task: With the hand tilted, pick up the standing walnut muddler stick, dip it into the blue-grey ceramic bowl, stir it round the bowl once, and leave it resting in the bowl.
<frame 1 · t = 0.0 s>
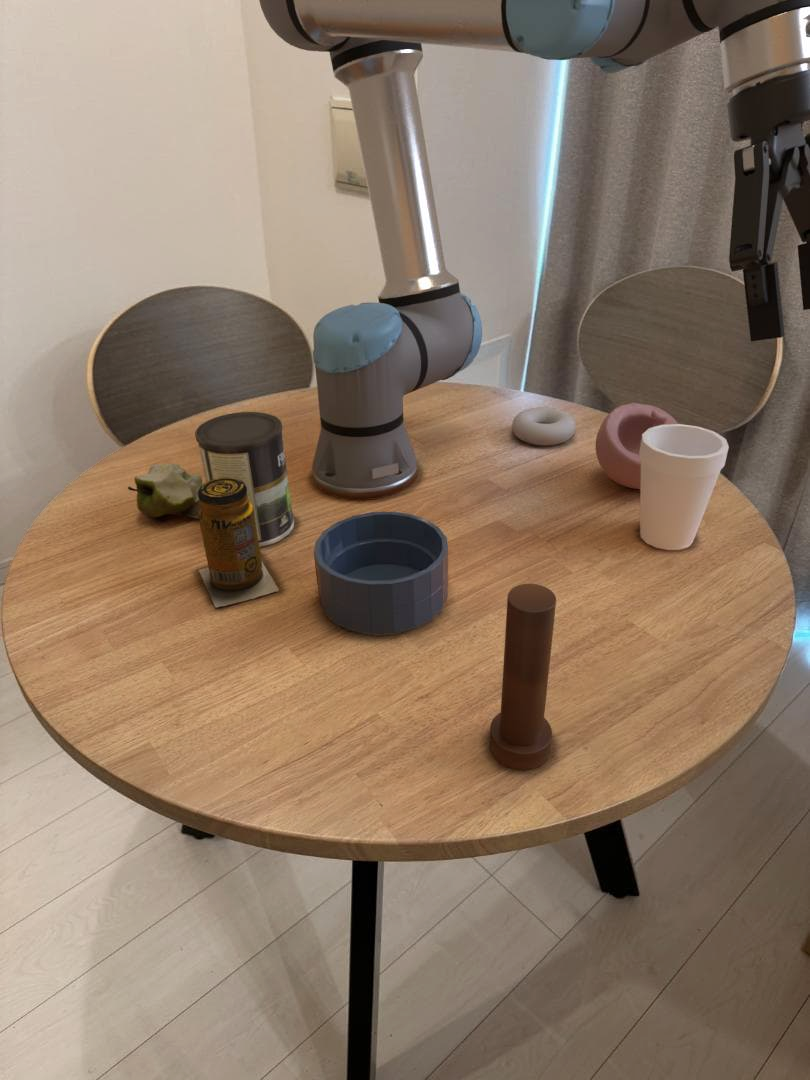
hand: (794, 322, 72), 28 cm above the table, tool tilted 20°, fingers open, 13 cm apart
donut: (542, 436, 118), on the table
pink hollowed ball: (634, 484, 103), on the table
foam cup: (665, 537, 92), on the table
condiment: (238, 582, 86), on the table
muddler: (519, 746, 64), on the table
coffee can: (254, 529, 96), on the table
bowl: (383, 597, 82), on the table
fruit: (172, 512, 100), on the table
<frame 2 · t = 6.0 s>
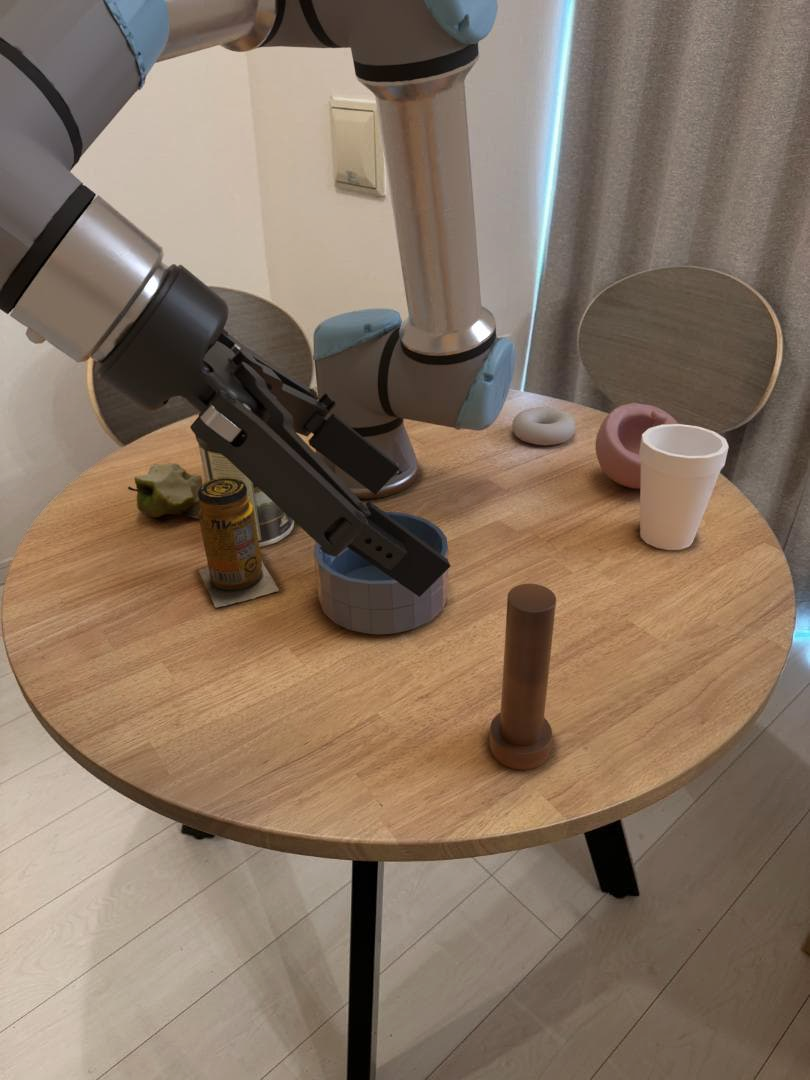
hand: (407, 523, 50), 24 cm above the table, tool tilted 45°, fingers open, 13 cm apart
nothing on the table moved.
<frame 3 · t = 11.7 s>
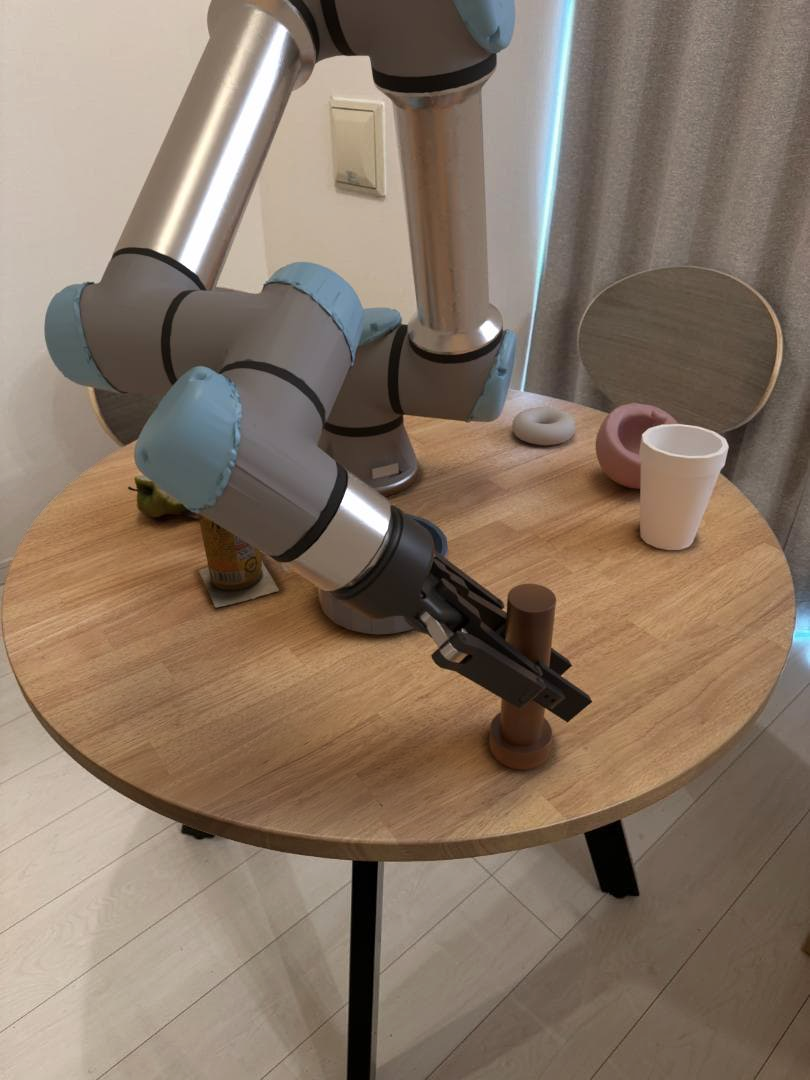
hand: (567, 690, 61), 6 cm above the table, tool tilted 45°, fingers closed on muddler, 4 cm apart
muddler: (519, 746, 64), on the table, touching gripper
everything else where it was.
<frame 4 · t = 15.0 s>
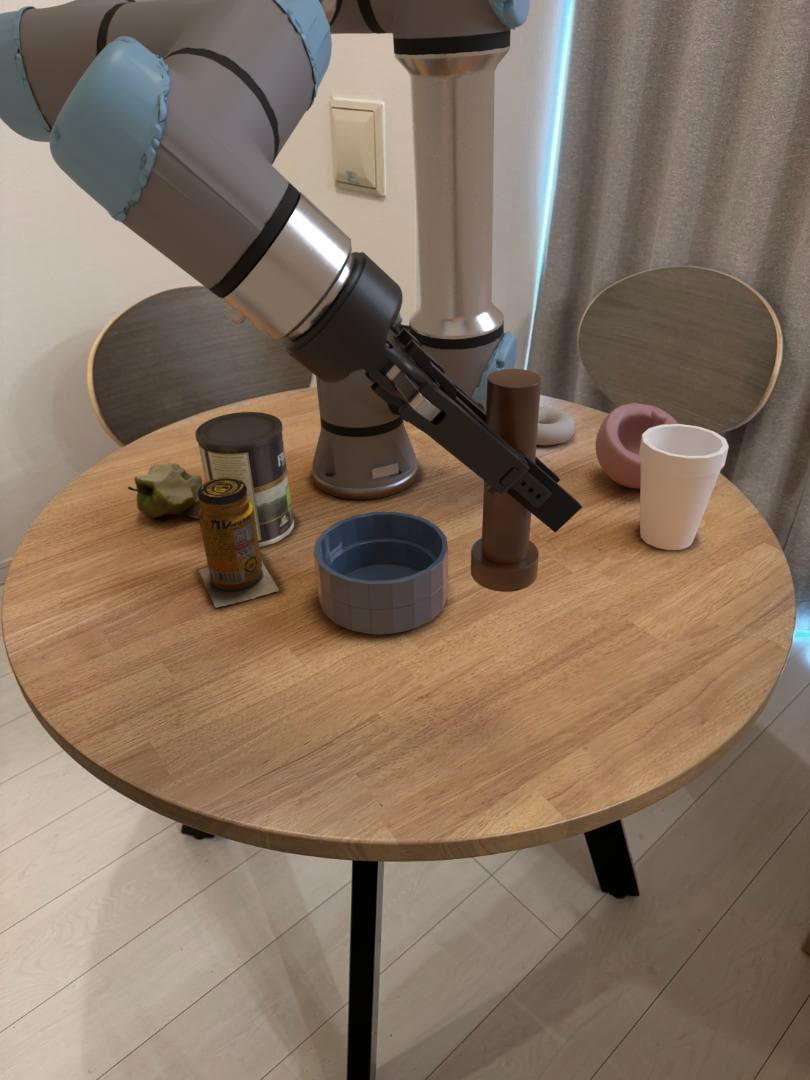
hand: (555, 502, 56), 22 cm above the table, tool tilted 45°, fingers closed on muddler, 4 cm apart
muddler: (503, 572, 58), point 16 cm above the table, touching gripper
everything else where it was.
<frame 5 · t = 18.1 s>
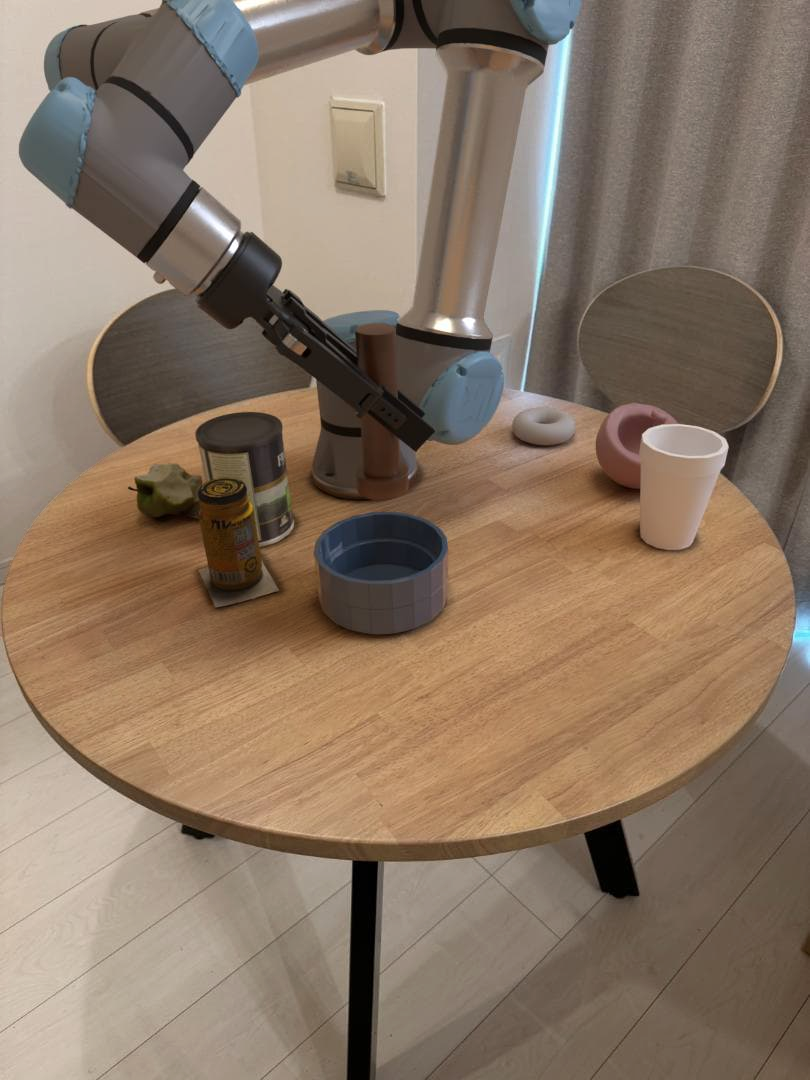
hand: (419, 430, 71), 20 cm above the table, tool tilted 45°, fingers closed on muddler, 4 cm apart
muddler: (382, 487, 74), point 14 cm above the table, touching gripper
everything else where it was.
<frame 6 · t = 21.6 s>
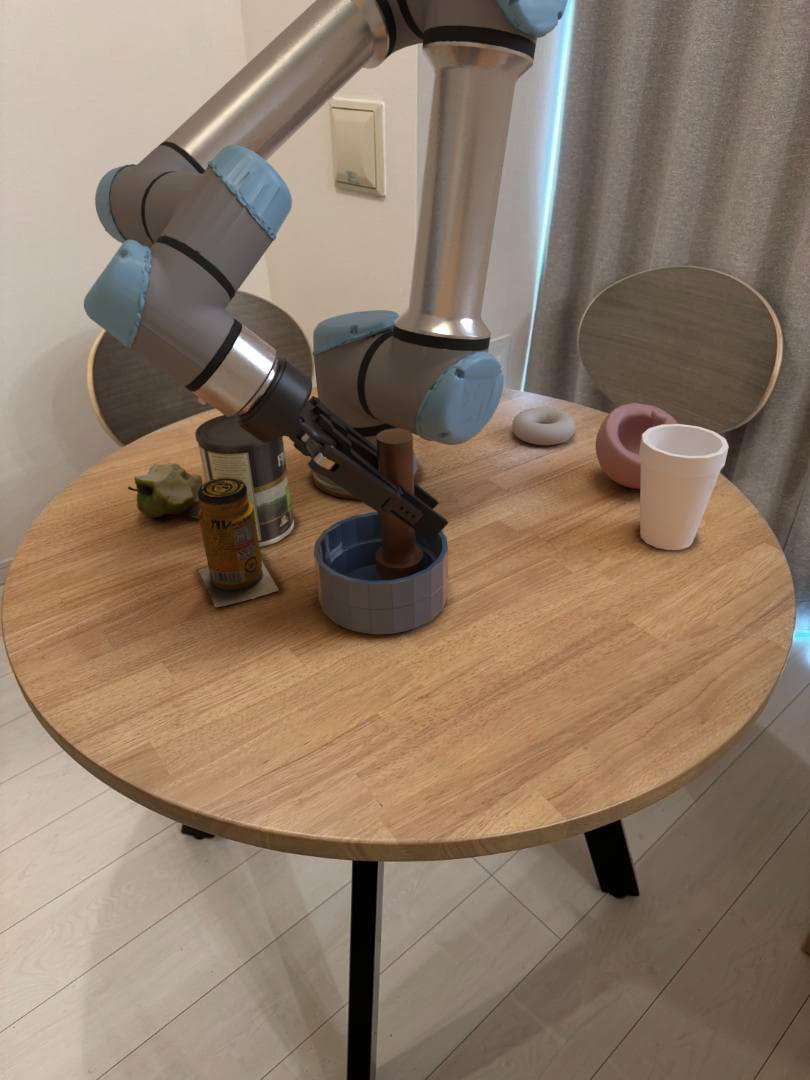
hand: (433, 519, 79), 9 cm above the table, tool tilted 45°, fingers closed on muddler, 4 cm apart
muddler: (399, 569, 81), point 3 cm above the table, touching gripper
everything else where it was.
when the fingers open (7 cm above the table, at t = 24.9 s): muddler stays where it is, resting on bowl.
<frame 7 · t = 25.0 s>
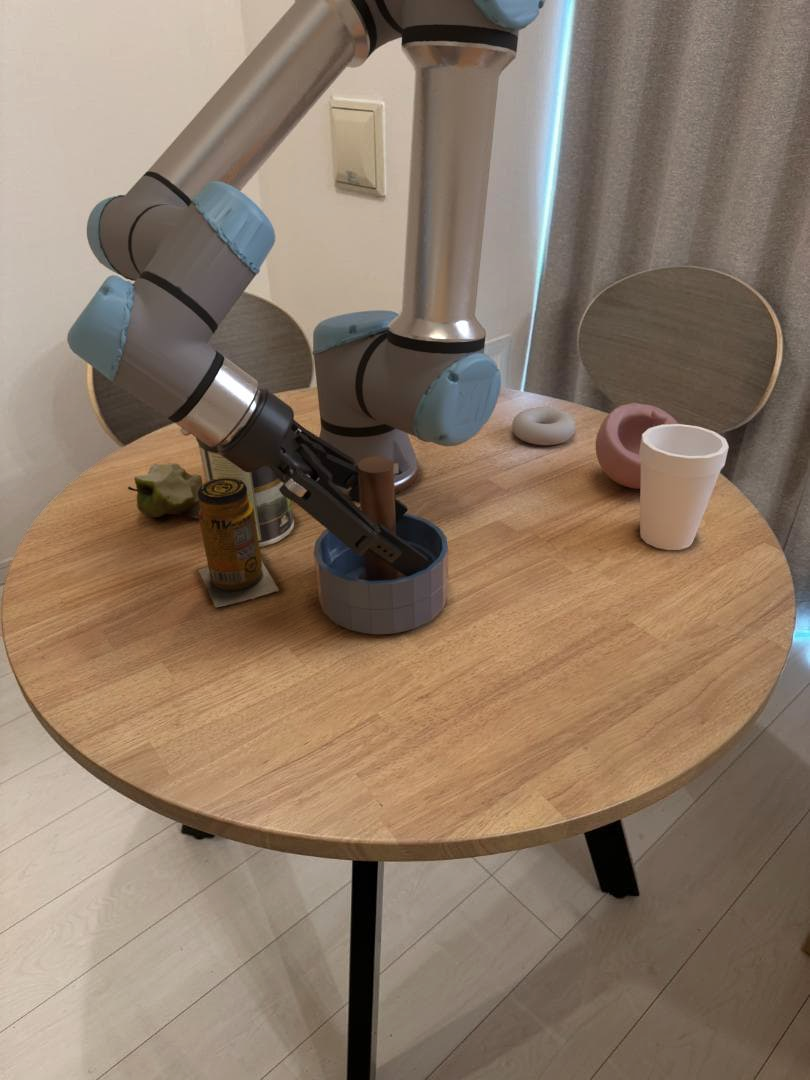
hand: (408, 540, 79), 7 cm above the table, tool tilted 45°, fingers open, 10 cm apart
muddler: (382, 593, 82), point 1 cm above the table, touching bowl
everything else where it was.
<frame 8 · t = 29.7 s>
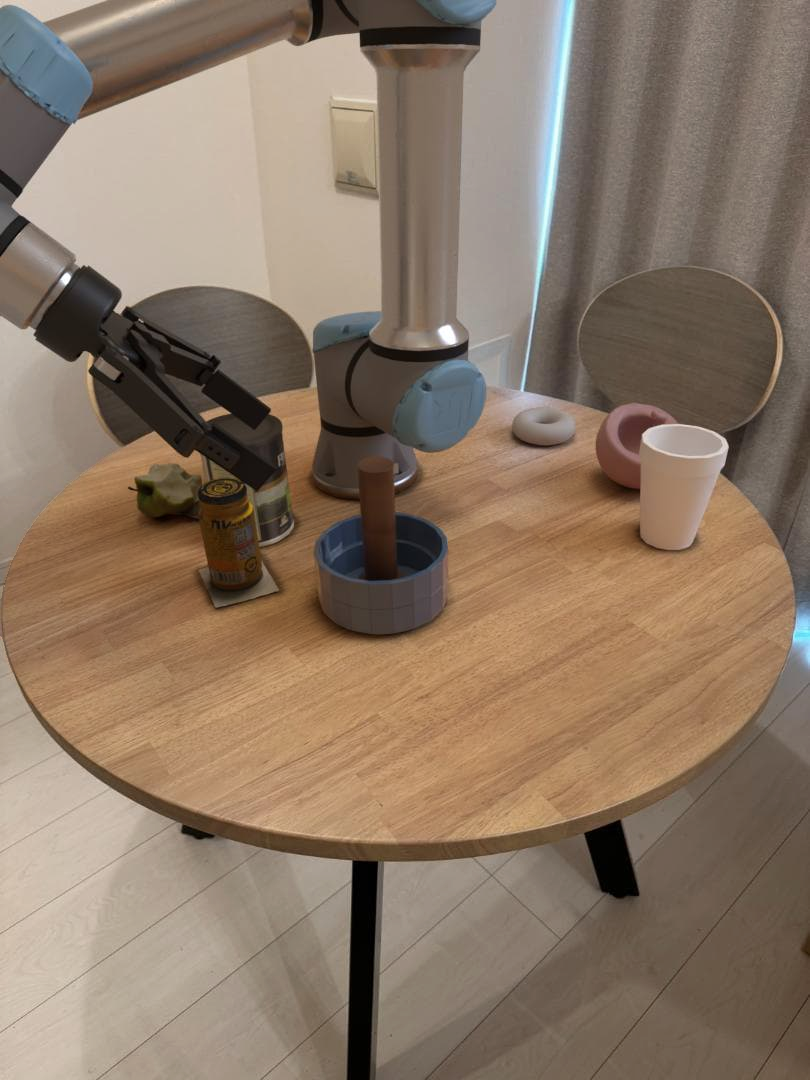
hand: (264, 447, 70), 20 cm above the table, tool tilted 45°, fingers open, 13 cm apart
nothing on the table moved.
at the end: muddler inside the target area in the bowl (0.1 cm from its centre), point 0.6 cm above the bowl's base; the gripper is holding nothing; muddler touching bowl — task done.
